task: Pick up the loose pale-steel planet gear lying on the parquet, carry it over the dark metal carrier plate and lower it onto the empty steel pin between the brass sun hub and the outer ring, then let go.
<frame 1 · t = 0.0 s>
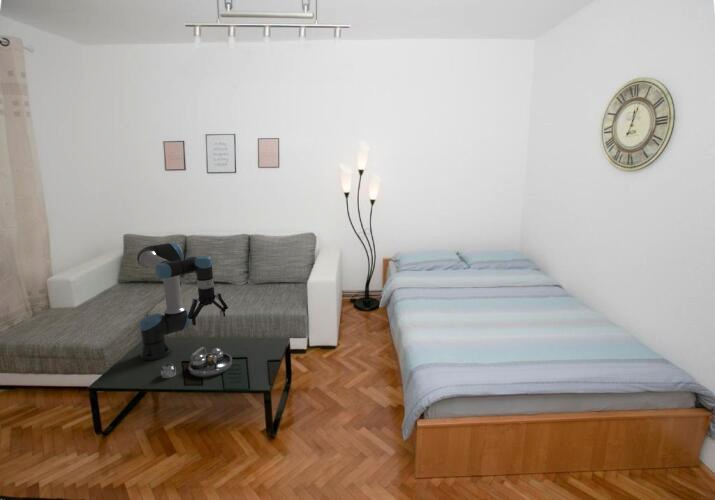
hand: (209, 326, 201), 28 cm above the table, fingers open, 13 cm apart
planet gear: (169, 374, 209), on the table
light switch: (199, 363, 220), resting on carrier
carrier: (211, 366, 217), on the table
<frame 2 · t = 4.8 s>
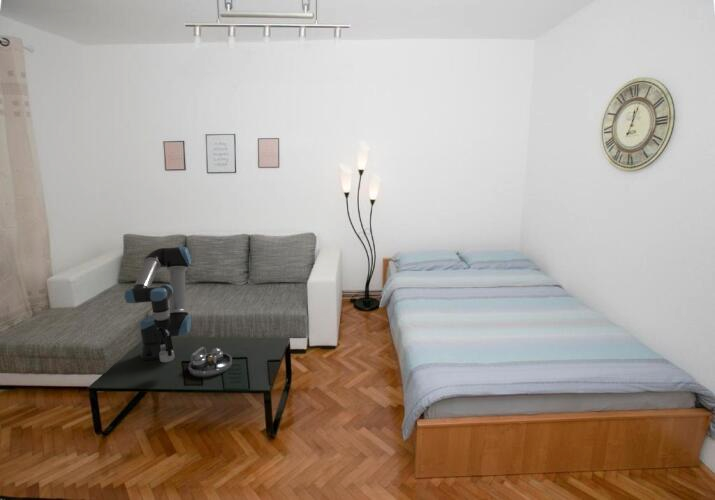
hand: (167, 358, 208), 9 cm above the table, fingers closed on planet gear, 7 cm apart
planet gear: (167, 358, 208), point 9 cm above the table, touching gripper
everything else where it was.
when the fingers open (2 cm above the table, at t = 9.2 s): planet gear stays where it is, resting on carrier.
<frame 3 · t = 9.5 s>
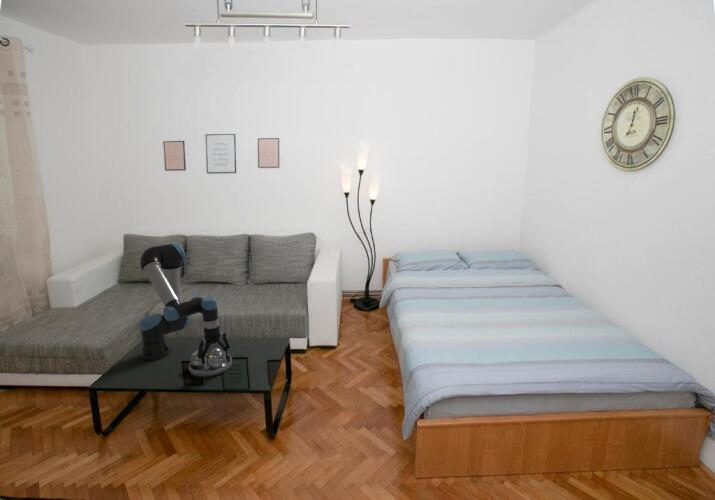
hand: (215, 365, 213), 3 cm above the table, fingers open, 10 cm apart
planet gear: (215, 368, 213), point 1 cm above the table, touching carrier
everything else where it was.
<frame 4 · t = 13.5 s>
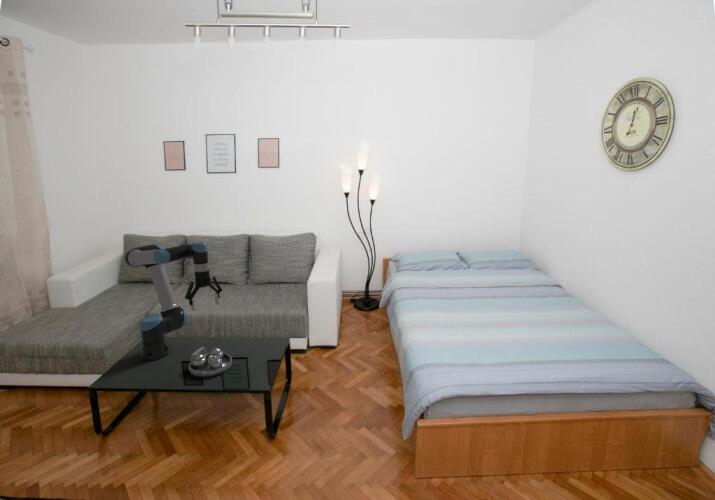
hand: (205, 307, 218), 32 cm above the table, fingers open, 13 cm apart
nothing on the table moved.
at the end: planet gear 0.1 cm from the target spot on the carrier, point 1.5 cm above the carrier's base; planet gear tilted 0°; the gripper is holding nothing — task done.
